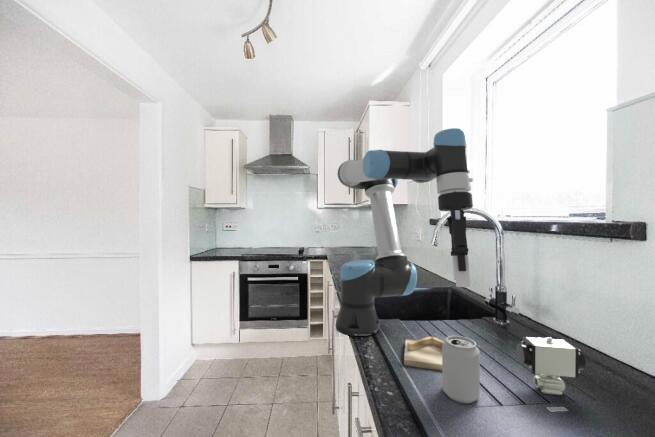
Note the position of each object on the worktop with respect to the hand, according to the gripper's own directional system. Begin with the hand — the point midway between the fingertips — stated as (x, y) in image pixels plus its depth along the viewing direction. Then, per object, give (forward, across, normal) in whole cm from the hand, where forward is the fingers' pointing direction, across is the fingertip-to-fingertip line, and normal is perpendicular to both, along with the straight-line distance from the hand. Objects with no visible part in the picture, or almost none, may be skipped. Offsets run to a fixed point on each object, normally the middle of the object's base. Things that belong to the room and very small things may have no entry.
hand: (461, 283), depth 68 cm
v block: (+22, +13, +8) cm, 27 cm away
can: (+24, -2, +2) cm, 24 cm away
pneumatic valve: (+24, +7, -16) cm, 30 cm away
